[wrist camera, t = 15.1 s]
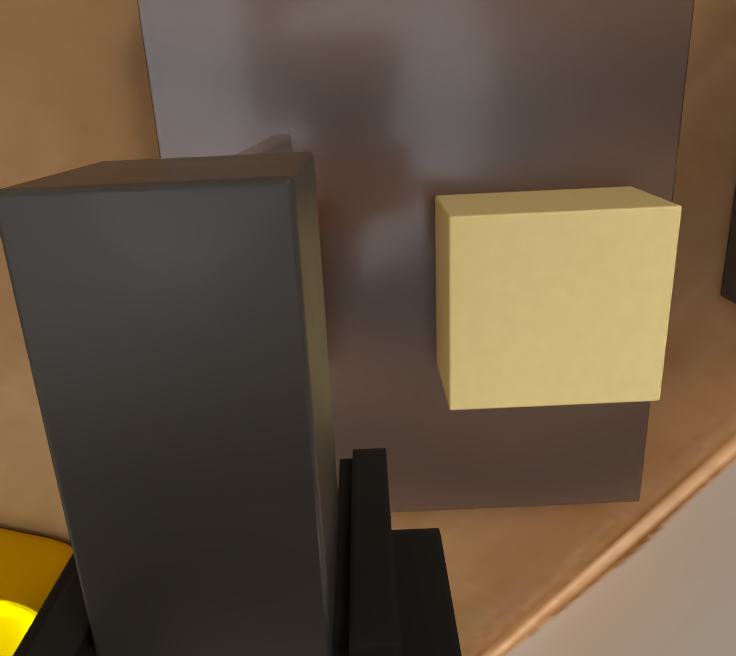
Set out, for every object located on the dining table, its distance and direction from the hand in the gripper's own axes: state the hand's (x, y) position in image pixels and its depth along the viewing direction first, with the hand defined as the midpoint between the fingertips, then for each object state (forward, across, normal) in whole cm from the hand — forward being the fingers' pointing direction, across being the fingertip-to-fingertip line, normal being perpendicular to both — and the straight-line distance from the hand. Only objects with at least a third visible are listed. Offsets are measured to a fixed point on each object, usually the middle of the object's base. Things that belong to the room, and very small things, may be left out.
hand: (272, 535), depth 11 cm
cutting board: (+16, -4, +1) cm, 17 cm away
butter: (+15, -8, +1) cm, 17 cm away
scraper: (+6, 0, 0) cm, 6 cm away
